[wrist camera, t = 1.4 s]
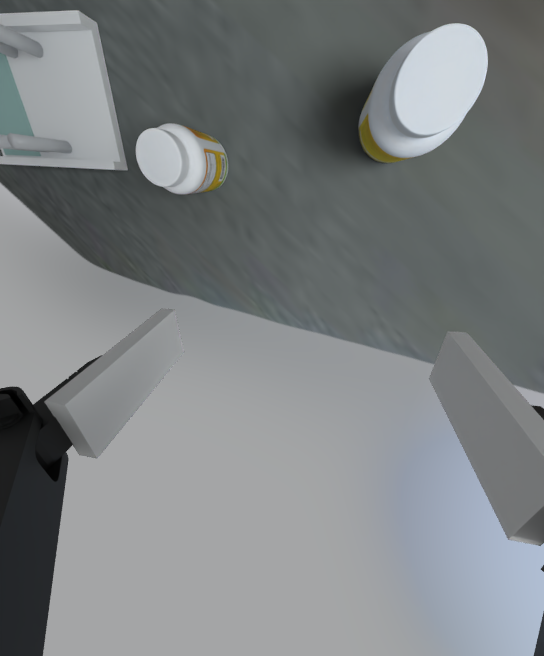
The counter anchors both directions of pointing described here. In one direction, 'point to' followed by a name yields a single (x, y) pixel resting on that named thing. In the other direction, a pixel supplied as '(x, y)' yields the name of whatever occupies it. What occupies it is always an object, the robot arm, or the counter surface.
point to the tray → (56, 93)
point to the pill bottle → (423, 93)
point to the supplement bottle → (181, 159)
